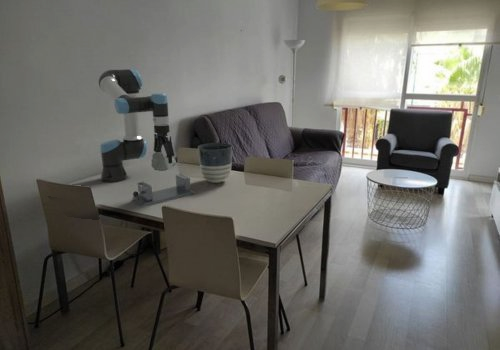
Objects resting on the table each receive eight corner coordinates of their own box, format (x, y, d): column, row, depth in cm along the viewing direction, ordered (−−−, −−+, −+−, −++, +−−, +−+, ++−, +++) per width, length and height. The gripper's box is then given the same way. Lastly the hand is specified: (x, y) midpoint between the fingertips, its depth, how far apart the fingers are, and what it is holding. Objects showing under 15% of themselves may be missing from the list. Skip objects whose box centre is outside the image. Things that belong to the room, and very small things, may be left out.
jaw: (129, 198, 189) (128, 184, 187) (144, 194, 194) (142, 180, 191) (138, 203, 181) (136, 188, 179) (152, 199, 186) (151, 185, 184)
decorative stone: (156, 173, 184) (167, 156, 183) (144, 162, 189) (154, 146, 189) (172, 179, 195) (182, 164, 195) (160, 169, 200) (170, 154, 200)
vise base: (132, 199, 192) (131, 182, 190) (180, 187, 209) (179, 172, 207) (144, 206, 182) (142, 189, 179) (193, 193, 199) (192, 177, 196)
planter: (193, 184, 215) (191, 148, 209) (209, 175, 232) (208, 142, 226) (224, 188, 208) (222, 150, 202) (238, 178, 225) (237, 144, 219)
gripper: (144, 123, 192) (148, 164, 198) (165, 128, 175) (169, 173, 182) (157, 121, 197) (161, 162, 203) (179, 126, 180) (182, 170, 186)
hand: (164, 167), depth 192 cm, fingers closed on decorative stone, 10 cm apart
